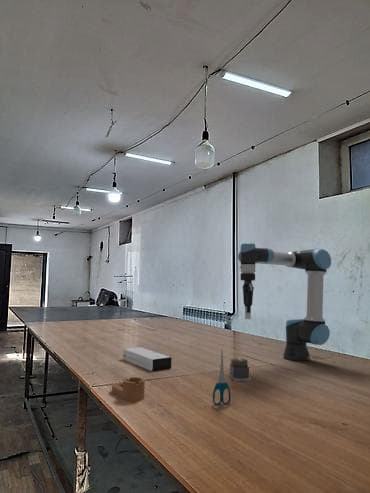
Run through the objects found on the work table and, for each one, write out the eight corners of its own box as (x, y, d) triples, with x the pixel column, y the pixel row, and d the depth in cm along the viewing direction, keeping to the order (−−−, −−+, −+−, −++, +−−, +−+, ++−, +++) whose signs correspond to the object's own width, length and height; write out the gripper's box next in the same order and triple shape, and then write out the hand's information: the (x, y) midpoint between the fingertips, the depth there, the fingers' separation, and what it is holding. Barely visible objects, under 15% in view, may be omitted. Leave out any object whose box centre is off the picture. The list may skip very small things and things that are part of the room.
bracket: (148, 399, 142) (148, 380, 142) (128, 403, 137) (129, 384, 137) (126, 387, 156) (127, 371, 157) (108, 390, 151) (109, 373, 152)
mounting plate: (244, 374, 181) (244, 363, 181) (250, 380, 169) (250, 369, 169) (228, 374, 180) (228, 363, 180) (233, 380, 168) (233, 369, 169)
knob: (229, 373, 178) (229, 356, 179) (245, 373, 179) (245, 356, 180) (233, 377, 170) (233, 360, 171) (249, 377, 171) (249, 360, 172)
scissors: (213, 405, 135) (214, 350, 137) (212, 404, 136) (213, 349, 138) (230, 404, 137) (230, 349, 138) (229, 403, 138) (229, 348, 139)
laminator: (171, 369, 190) (171, 357, 190) (150, 372, 183) (151, 359, 183) (140, 357, 218) (140, 346, 218) (121, 359, 210) (121, 348, 211)
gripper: (237, 273, 196) (237, 317, 194) (244, 272, 183) (244, 320, 181) (251, 273, 196) (251, 317, 194) (258, 272, 184) (258, 320, 181)
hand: (247, 319), depth 187 cm, fingers closed
